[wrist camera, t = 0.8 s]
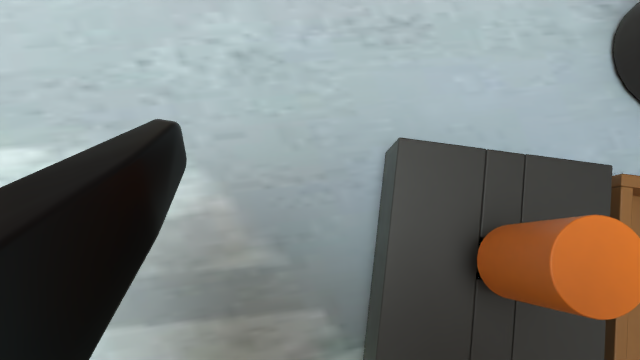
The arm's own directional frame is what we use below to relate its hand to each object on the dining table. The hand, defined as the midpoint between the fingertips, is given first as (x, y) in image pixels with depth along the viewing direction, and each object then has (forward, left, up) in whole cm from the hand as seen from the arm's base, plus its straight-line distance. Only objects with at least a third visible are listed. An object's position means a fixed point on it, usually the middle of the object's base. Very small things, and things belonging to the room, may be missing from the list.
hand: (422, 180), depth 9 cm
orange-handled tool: (-1, -7, -17) cm, 18 cm away
